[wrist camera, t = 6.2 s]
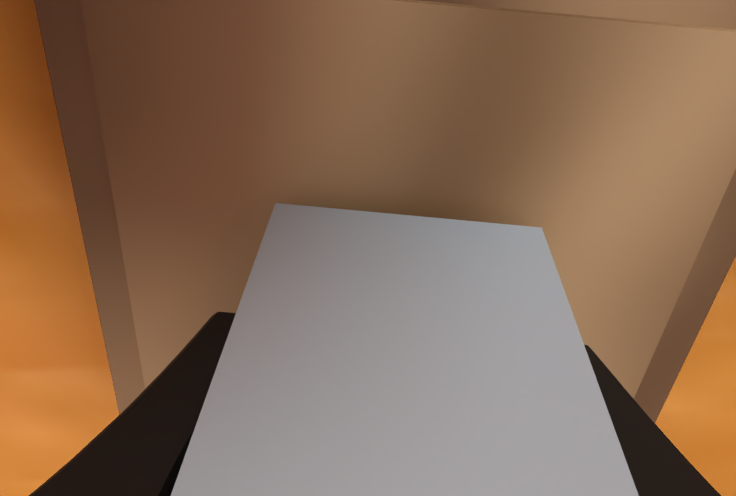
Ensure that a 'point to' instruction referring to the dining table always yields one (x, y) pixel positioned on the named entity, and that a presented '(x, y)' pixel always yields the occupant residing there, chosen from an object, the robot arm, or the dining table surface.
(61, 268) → the dining table surface
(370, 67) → the plinth
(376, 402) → the block
